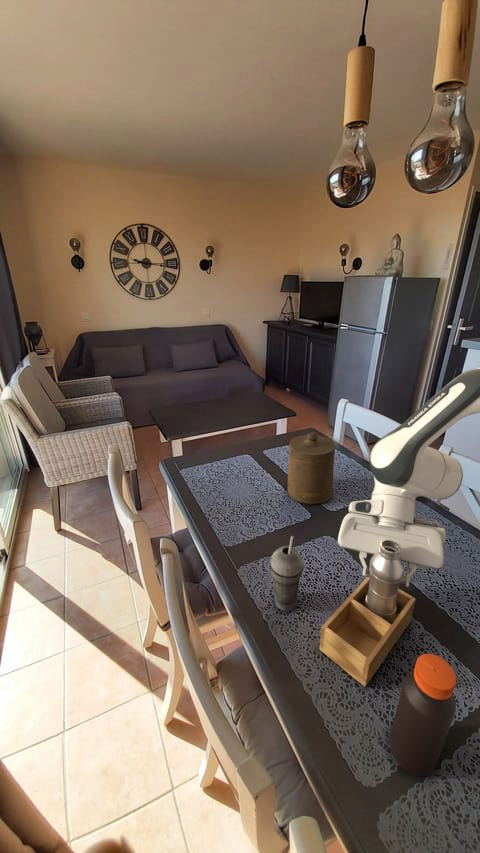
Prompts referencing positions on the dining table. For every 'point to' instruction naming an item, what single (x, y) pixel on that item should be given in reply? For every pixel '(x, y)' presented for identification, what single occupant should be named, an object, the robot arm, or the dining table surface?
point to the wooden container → (311, 468)
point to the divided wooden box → (363, 633)
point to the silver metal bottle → (385, 581)
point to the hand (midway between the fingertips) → (384, 581)
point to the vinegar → (423, 715)
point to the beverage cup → (286, 575)
